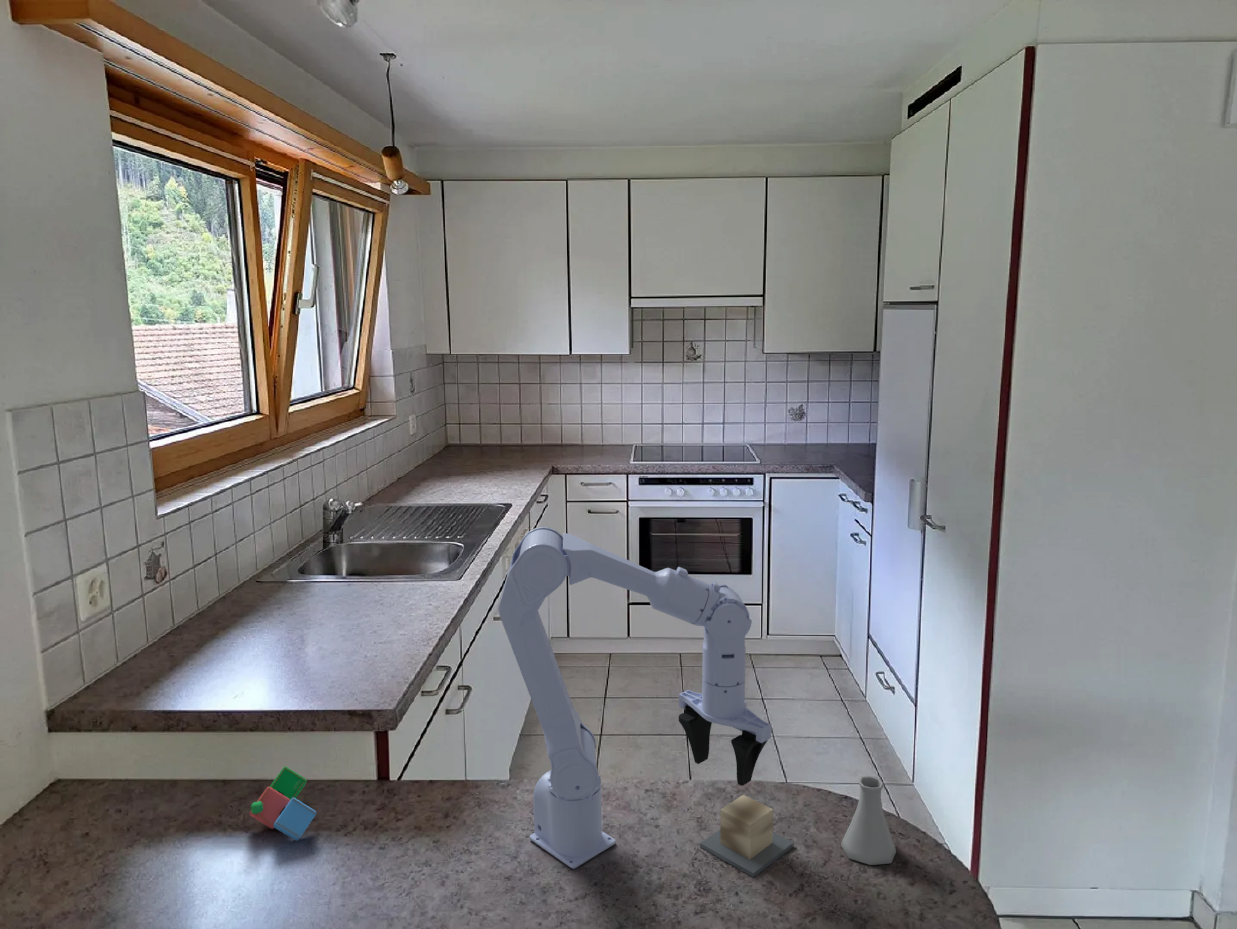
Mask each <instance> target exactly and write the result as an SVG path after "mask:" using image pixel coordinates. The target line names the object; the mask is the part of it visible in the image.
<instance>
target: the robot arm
mask: <svg viewBox="0 0 1237 929" xmlns="http://www.w3.org/2000/svg"><path fill="white" fill-rule="evenodd" d="M507 571H508V572H507V575H506V578H505V583H504V585H503V589H502V593H501V597H500V600H499V603H498V615H499V618H500V621H501V622H502V625H503V628H504V631H505V633H506V637H507V639H508V642H509V644H510V647H511V649H512V653H513V655H514V657H515V660H516V662H517V665H518V667H519V671H520V673H521V676H522V679H523V681H524V683H525V687H526V688H527V691H528V694H529V697H530V699H531V702H532V705H533V707H534V710H535V713H536V715H537V718H538V721H539V723H540V726H541V728H542V731H543V736H544V743H545V746H546V747H545V748H546V753H547V756H548V759H549V762H550V767H551V768H550V770H548V771H547V772H545V773H544V774H543V775H541V777H540V778H539V779H538V781H537V783H536V784H535V787H534V790H533V795H532V800H533V801H532V802H533V803H532V804H533V827H534V832H533V833H531V834H530V835H529V840H530V841H531V842H533V843H535V844H536V845H538V846H539V847H540V848H542V849H543V850H545V851H546V852H547V853H549V854H550V855H552V856H553V857H555V859H558V860H559V861H560V862H561V863H563V864H565V865H566V866H567V867H569V868H571V869H577V868H578V867H579V866H581V865H583V864H584V863H586V862H588V861H589V860H591V859H593V858H595V857H596V856H598V855H599V854H600V853H602V852H604V851H605V850H607V849H609V848H610V847H612V846H613V845H615V844H616V838H614V837H612V836H610V835H609V834H608V833H605V832H604V831H603V823H602V822H603V821H602V820H603V817H602V816H603V815H602V813H603V812H602V784H601V783H602V780H601V775H599V769H598V767H597V757H596V747H597V745H596V744H597V741H596V738H595V735H594V733H593V731H591V729H590V728H588V727H587V726H586V725H585V724H584V723H583V721H582V720H581V716H580V714H579V712H578V711H577V710H576V709H575V708H574V707H575V706H574V705H573V702H572V700H571V697H570V693H569V691H568V688H567V685H566V683H565V681H564V678H563V676H562V672H561V670H560V666H559V663H558V662H557V659H556V656H555V653H554V651H553V647H552V646H551V642H550V639H549V637H548V634H547V632H546V629H545V627H544V623H543V621H542V619H541V615H540V613H539V610H540V608H541V606H542V604H543V603H544V601H545V599H546V598H547V597H549V595H551V594H552V593H553V592H555V591H556V590H557V589H558V588H560V586H561V585H562V584H563V583H564V582H565V580H566V577H568V582H569V586H571V585H572V586H573V585H574V584H578V583H579V582H582V581H585V580H587V579H590V578H592V579H596V580H597V581H598V580H599V581H602V582H605V583H607V584H610V585H613V586H617V587H620V588H623V589H625V590H629V591H631V592H633V593H637V594H640V595H642V596H646V597H647V598H648V601H649V604H650V607H651V608H652V610H655V611H658V612H660V613H663V614H666V615H668V616H671V617H672V618H676V619H679V620H682V621H683V622H686V623H688V624H691V625H694V626H697V627H699V626H700V627H703V642H702V660H701V661H702V663H701V664H702V666H701V667H702V668H701V669H702V673H701V674H702V678H701V680H702V683H701V685H702V686H701V693H700V692H695V691H692V690H690V689H687V690H685V691H683V692H680V693H679V694H678V708H682V709H683V712H682V713H680V714H679V715H678V722H679V724H680V725H681V727H682V729H683V730H684V732H685V734H686V736H687V739H688V742H689V746H690V748H691V753H692V756H693V760H694V763H695V764H697V765H700V764H702V763H704V762H705V761H707V760H708V758H709V756H710V755H709V754H710V741H711V739H710V736H711V729H712V724H715V725H716V724H717V725H720V726H725V727H731V728H733V729H736V730H737V731H740V732H741V734H739V735H737V736H735V737H734V738H732V739H731V740H730V743H731V746H732V748H733V750H734V751H733V752H734V755H735V761H736V762H735V763H736V781H737V785H739V786H741V787H742V786H743V787H744V786H745V785H747V784H748V783H750V782H752V778H753V774H754V770H755V767H756V764H757V761H758V758H759V756H760V755H761V752H762V750H763V748H764V747H765V746H766V744H767V742H768V741H769V740H770V739H771V738H772V724H770V723H769V722H766V721H765V720H763V719H761V718H760V717H759V716H758V715H756V714H755V713H754V711H752V710H750V709H749V708H748V707H747V701H746V700H745V699H746V695H745V694H746V692H745V691H746V657H747V656H746V652H747V651H746V650H747V648H746V636H747V634H749V631H750V629H751V626H752V622H753V621H752V619H750V612H749V610H748V608H747V606H746V605H745V603H744V601H743V600H742V598H741V597H740V595H739V594H738V593H737V592H736V591H735V590H734V589H732V588H731V587H729V586H727V585H726V584H721V583H720V584H719V583H718V582H717V583H716V582H715V581H714V582H713V581H712V582H711V584H710V583H708V582H705V581H703V580H700V579H698V578H696V577H693V576H690V575H689V572H688V571H687V569H685V568H683V567H680V566H678V567H677V568H676V570H675V569H673V568H670V567H666V568H663V569H661V570H658V571H654V570H651V569H648V568H647V567H644V566H641V565H639V564H637V563H635V562H633V561H631V560H629V559H626V558H625V557H622V556H620V555H618V554H616V553H613V552H611V551H609V550H607V549H604V548H602V547H600V546H598V545H595V544H593V543H591V542H589V541H587V540H584V539H582V538H580V537H578V536H576V535H574V534H570V533H568V532H567V533H566V532H563V533H562V534H561V533H560V532H559V531H558V530H556V529H554V528H551V527H546V526H540V527H535V528H533V529H531V530H529V531H528V532H527V533H526V534H525V535H524V536H523V538H522V539H521V540H520V542H519V543H518V545H516V547H515V549H514V551H513V553H512V557H511V561H510V564H509V568H508V570H507Z"/></svg>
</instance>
